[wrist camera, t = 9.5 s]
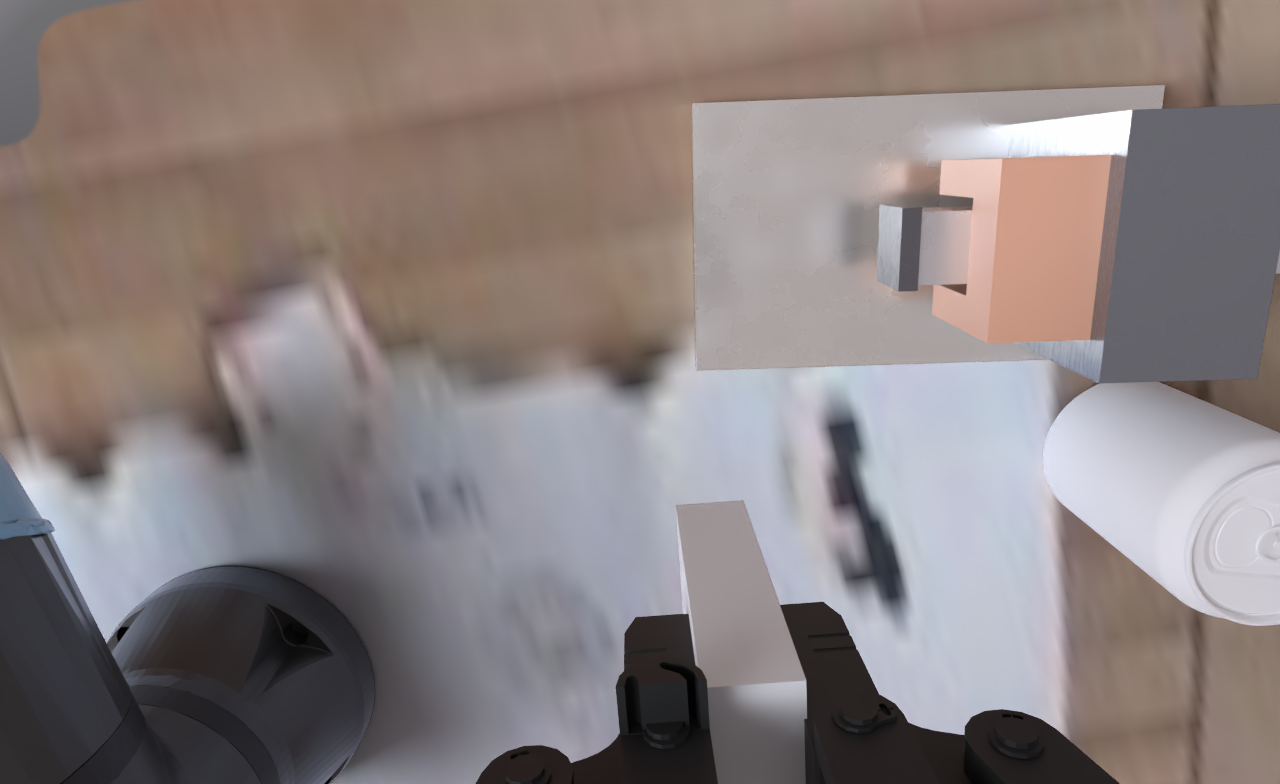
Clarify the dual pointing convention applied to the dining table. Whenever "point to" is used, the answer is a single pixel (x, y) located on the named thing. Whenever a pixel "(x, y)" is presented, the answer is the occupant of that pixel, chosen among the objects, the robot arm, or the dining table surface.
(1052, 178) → the block
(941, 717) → the dining table surface
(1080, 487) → the beverage can
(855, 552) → the dining table surface
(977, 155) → the grey blocky piece
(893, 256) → the shaft
